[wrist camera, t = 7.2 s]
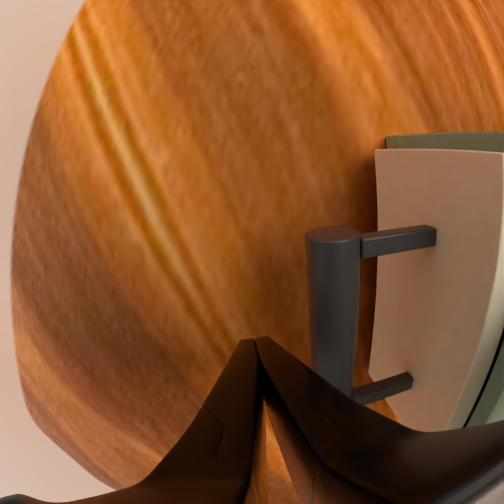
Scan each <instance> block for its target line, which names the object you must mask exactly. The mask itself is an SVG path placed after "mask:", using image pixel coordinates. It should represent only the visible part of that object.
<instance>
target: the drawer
mask: <svg viewBox="0 0 504 504" xmlns="http://www.w3.org/2000/svg"><path fill="white" fill-rule="evenodd" d="M374 154H375V167H376V183H377V209H378V231H374V232H367V233H359V232H358V231H357V230H355V229H352V228H348V227H339V226H332V227H322V228H317V229H314V230H311V231H309V232H307V233H306V235H305V246H306V262H307V280H308V302H309V331H310V369H312V370H313V371H314V372H316V373H317V374H318V375H320V376H321V377H322V378H324V379H325V380H326V381H328V382H329V383H331V384H332V385H333V387H334V386H335V387H336V388H338V389H339V390H340V391H342V392H343V393H345V394H346V395H348V396H349V397H351V398H352V399H354V400H355V401H357V402H359V403H361V404H363V405H365V404H369V403H372V402H375V401H378V400H381V399H384V398H385V400H386V402H387V403H388V405H389V406H390V408H391V409H392V411H393V413H394V414H395V416H396V417H397V419H398V420H399V422H400V424H402V425H404V426H406V427H409V428H411V429H414V430H418V431H423V432H436V431H445V430H453V429H460V428H462V427H463V425H464V424H465V422H466V420H467V421H468V422H469V421H470V419H471V417H472V415H473V413H474V411H475V409H476V407H477V405H478V403H479V401H480V398H481V396H482V394H483V392H484V390H485V387H486V385H487V383H488V380H489V378H490V376H491V373H492V371H493V368H494V366H495V363H496V360H497V358H498V355H499V352H500V349H501V346H502V343H503V340H504V153H500V152H488V151H474V150H454V149H375V150H374ZM376 256H378V262H377V287H376V304H375V317H374V328H373V338H372V347H371V356H370V364H369V371H368V374H369V375H370V377H371V378H372V380H373V381H374V382H373V383H369V384H366V385H363V386H359V387H356V388H352V385H353V377H354V367H355V357H356V345H357V331H358V315H359V291H360V257H361V258H363V259H365V258H370V257H376Z"/></svg>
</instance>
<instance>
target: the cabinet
mask: <svg viewBox="0 0 504 504" xmlns="http://www.w3.org/2000/svg"><path fill="white" fill-rule="evenodd" d="M386 144H387V149H454V150H474V151H488V152H500V153H504V132H446V133H425V134H410V135H398V136H387V137H386ZM501 420H504V340H503V343H502V346H501V349H500V352H499V355H498V358H497V360H496V363H495V366H494V368H493V371H492V373H491V376H490V378H489V380H488V383H487V385H486V387H485V390H484V392H483V394H482V396H481V398H480V401H479V403H478V405H477V407H476V409H475V411H474V413H473V415H472V417H471V419H470V421H469V422H468V421H467V420H466V422H465V424H464V425H463V427H462V428H466V427H472V426H478V425H483V424H489V423H493V422H497V421H501Z"/></svg>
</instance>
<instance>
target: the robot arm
mask: <svg viewBox="0 0 504 504" xmlns="http://www.w3.org/2000/svg"><path fill="white" fill-rule="evenodd" d="M264 402H265V405H264ZM265 406H266V410H267V413H268V416H269V419H270V421H271V424H272V427H273V430H274V433H275V436H276V438H277V441H278V444H279V447H280V450H281V452H282V455H283V458H284V461H285V463H286V466H287V469H288V472H289V474H290V477H291V480H292V482H293V485H294V488H295V490H296V493H297V495H298V498H299V501H300V503H301V504H504V420H501V421H497V422H493V423H489V424H483V425H478V426H472V427H466V428H460V429H453V430H445V431H436V432H423V431H418V430H414V429H411V428H409V427H406V426H404V425H402V424H400V423H398V422H396V421H394V420H392V419H390V418H388V417H386V416H384V415H381V414H379V413H378V412H376V411H374V410H372V409H370V408H368V407H366V406H364V405H363V404H361V403H359V402H357V401H355V400H354V399H352V398H351V397H349V396H348V395H346V394H345V393H343V392H342V391H340V390H339V389H338V388H336V387H335V386H334V387H333V385H332V384H331V383H329V382H328V381H326V380H325V379H324V378H322V377H321V376H320V375H318V374H317V373H316V372H314V371H313V370H312V369H310V368H309V367H308V366H306V365H305V364H304V363H302V362H301V361H300V360H298V359H297V358H296V357H294V356H293V355H292V354H290V353H289V352H288V351H286V350H285V349H284V348H283V347H281V346H280V345H279V344H277V343H276V342H275V341H274V340H272V339H271V338H270V337H268V336H263V337H257V338H255V339H253V338H250V339H243V340H240V341H239V343H238V345H237V347H236V348H235V350H234V352H233V354H232V356H231V357H230V359H229V361H228V363H227V364H226V366H225V368H224V369H223V371H222V373H221V375H220V376H219V378H218V380H217V382H216V383H215V385H214V387H213V388H212V390H211V392H210V394H209V395H208V397H207V399H206V400H205V402H204V404H203V405H202V408H201V409H200V410H199V412H198V414H197V415H196V417H195V419H194V420H193V422H192V423H191V425H190V426H189V428H188V429H187V430H186V432H185V433H184V434H183V436H182V437H181V438H180V439H179V441H178V442H177V443H176V444H175V445H174V447H173V448H172V449H171V450H170V451H169V452H168V454H167V455H166V456H165V457H164V458H163V459H162V461H161V462H160V463H159V464H158V465H157V466H156V467H155V469H154V470H153V471H152V472H151V473H150V474H149V475H148V476H147V477H146V478H144V479H143V480H142V481H140V482H139V483H137V484H135V485H133V486H131V487H128V488H124V489H121V490H117V491H114V492H110V493H106V494H103V495H99V496H94V497H90V498H86V499H81V500H76V501H71V502H62V503H53V502H45V501H40V500H37V499H35V498H32V497H29V496H26V495H23V494H15V495H10V496H6V497H3V498H0V504H268V494H267V458H266V426H265Z"/></svg>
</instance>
